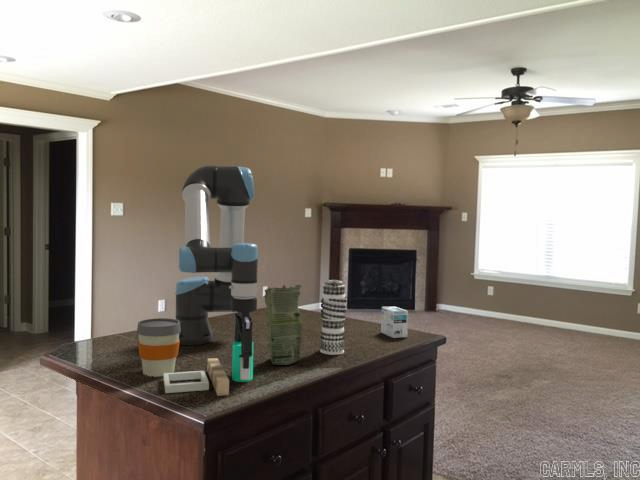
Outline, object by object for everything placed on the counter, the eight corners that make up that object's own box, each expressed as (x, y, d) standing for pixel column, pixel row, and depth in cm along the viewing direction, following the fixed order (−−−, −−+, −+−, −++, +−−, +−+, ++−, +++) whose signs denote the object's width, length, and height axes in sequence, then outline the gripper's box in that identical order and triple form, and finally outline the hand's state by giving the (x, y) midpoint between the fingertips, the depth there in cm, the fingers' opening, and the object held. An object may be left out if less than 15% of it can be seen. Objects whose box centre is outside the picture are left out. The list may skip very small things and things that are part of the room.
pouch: (261, 365, 176) (263, 286, 174) (270, 355, 187) (271, 281, 186) (296, 367, 174) (298, 288, 173) (302, 357, 186) (304, 283, 184)
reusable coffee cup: (188, 372, 166) (189, 322, 165) (151, 381, 157) (151, 328, 156) (165, 363, 174) (165, 316, 174) (128, 371, 165) (128, 321, 164)
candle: (253, 375, 165) (254, 335, 164) (251, 382, 159) (252, 340, 158) (233, 375, 164) (233, 335, 164) (230, 381, 158) (231, 340, 158)
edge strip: (207, 371, 167) (207, 358, 167) (217, 371, 168) (217, 358, 168) (217, 395, 146) (217, 380, 146) (228, 394, 147) (229, 380, 147)
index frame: (163, 380, 158) (163, 373, 158) (204, 377, 162) (204, 370, 162) (165, 393, 147) (165, 385, 147) (208, 389, 151) (209, 382, 151)
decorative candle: (350, 351, 196) (352, 280, 194) (336, 356, 188) (338, 283, 187) (328, 346, 201) (330, 278, 200) (314, 351, 193) (316, 280, 192)
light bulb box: (408, 337, 219) (408, 310, 219) (393, 338, 217) (393, 311, 216) (394, 331, 229) (395, 305, 229) (380, 332, 227) (381, 306, 226)
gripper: (225, 291, 168) (224, 366, 170) (237, 303, 149) (235, 386, 151) (250, 291, 171) (248, 364, 172) (264, 302, 152) (262, 384, 153)
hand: (242, 374), depth 161 cm, fingers open, 7 cm apart
